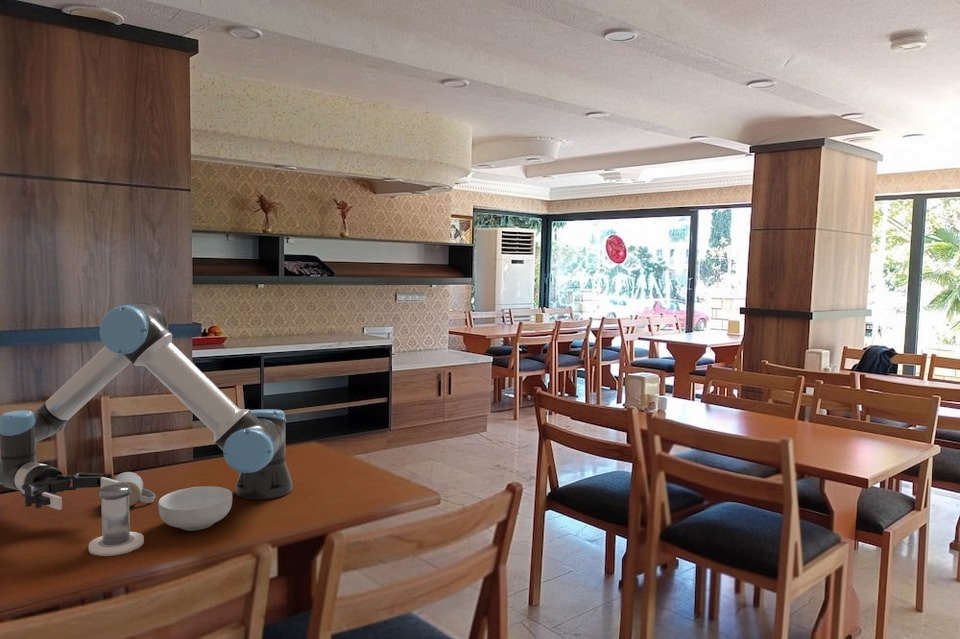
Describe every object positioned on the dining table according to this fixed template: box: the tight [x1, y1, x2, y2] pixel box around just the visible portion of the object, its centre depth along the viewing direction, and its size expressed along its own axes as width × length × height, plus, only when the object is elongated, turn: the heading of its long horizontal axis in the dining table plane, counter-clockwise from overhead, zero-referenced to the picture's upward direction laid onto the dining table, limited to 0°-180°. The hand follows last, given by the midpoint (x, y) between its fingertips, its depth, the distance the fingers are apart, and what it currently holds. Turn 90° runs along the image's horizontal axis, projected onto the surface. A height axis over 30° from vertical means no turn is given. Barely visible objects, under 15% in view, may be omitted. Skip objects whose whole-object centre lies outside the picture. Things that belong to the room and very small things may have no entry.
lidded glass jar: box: [98, 484, 131, 545], centre depth 158 cm, size 6×6×12 cm
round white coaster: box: [88, 531, 145, 557], centre depth 159 cm, size 11×11×1 cm
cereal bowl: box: [157, 485, 233, 531], centre depth 172 cm, size 17×17×7 cm
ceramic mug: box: [113, 471, 157, 508], centre depth 187 cm, size 11×8×8 cm
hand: (90, 495), depth 163 cm, fingers open, 13 cm apart
